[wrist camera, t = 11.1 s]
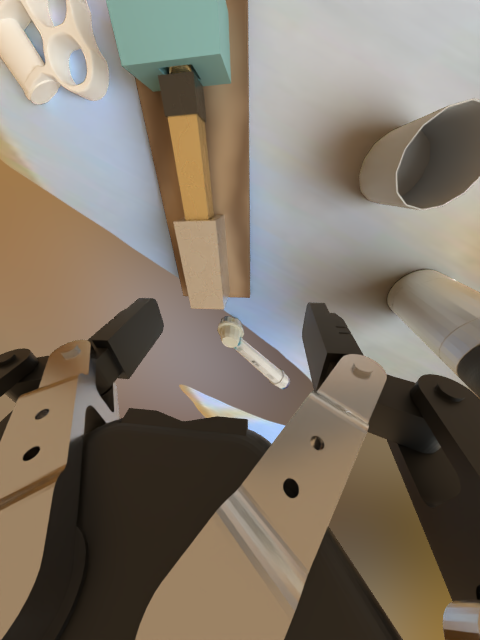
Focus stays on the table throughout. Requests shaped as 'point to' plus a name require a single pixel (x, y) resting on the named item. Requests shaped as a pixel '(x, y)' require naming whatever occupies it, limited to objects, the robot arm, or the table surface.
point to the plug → (188, 139)
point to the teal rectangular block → (172, 38)
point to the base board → (213, 154)
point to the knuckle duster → (51, 49)
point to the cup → (425, 159)
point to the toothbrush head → (250, 351)
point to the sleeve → (204, 261)
